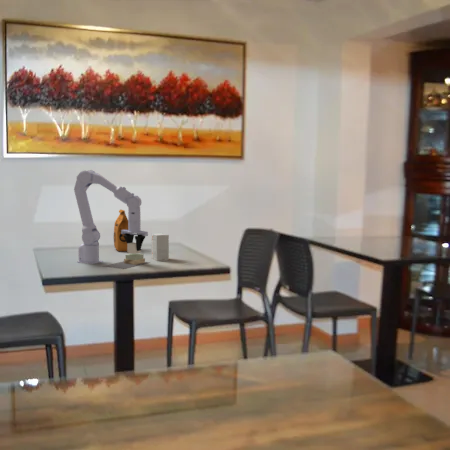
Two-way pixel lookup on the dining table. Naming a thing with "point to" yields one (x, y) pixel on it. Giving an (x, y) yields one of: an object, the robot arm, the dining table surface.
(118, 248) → the coffee package
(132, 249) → the offwhite cube
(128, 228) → the robot arm
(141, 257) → the sage top slab
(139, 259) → the maple base slab
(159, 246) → the small box
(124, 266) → the rubber mat
